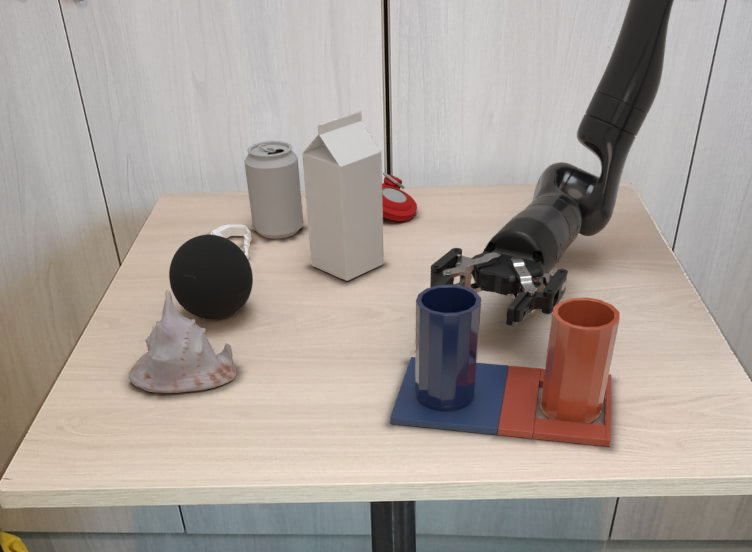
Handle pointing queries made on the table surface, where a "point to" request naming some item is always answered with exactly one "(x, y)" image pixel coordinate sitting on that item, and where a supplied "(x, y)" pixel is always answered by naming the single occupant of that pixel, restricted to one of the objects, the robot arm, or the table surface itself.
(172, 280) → the speaker
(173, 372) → the seashell
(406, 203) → the tracker holder
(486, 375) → the sorting board
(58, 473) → the table surface
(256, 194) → the can
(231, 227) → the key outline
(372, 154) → the milk carton
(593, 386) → the red cup
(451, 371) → the blue cup
